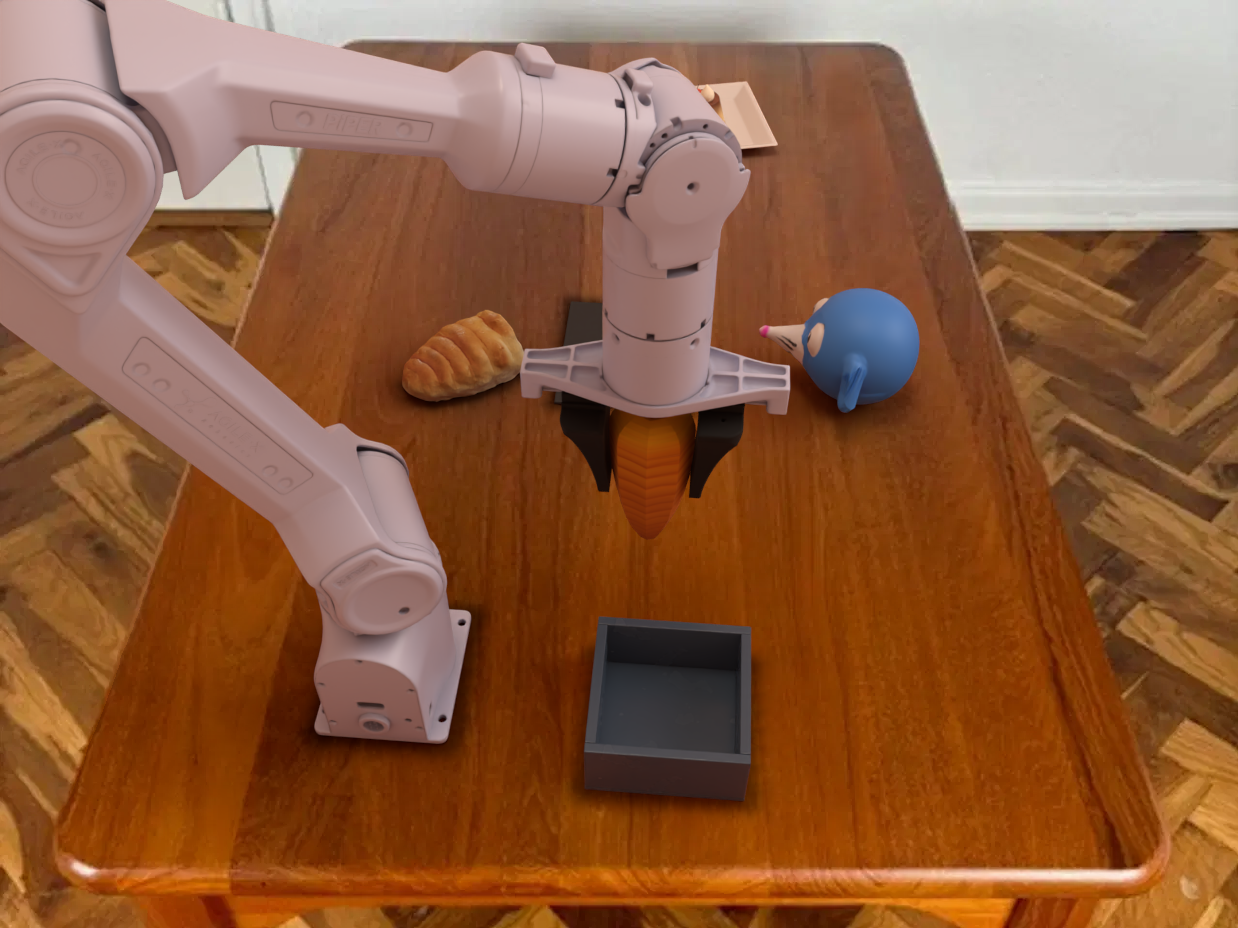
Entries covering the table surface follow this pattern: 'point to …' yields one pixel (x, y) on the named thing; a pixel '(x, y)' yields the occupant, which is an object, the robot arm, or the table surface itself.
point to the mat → (582, 327)
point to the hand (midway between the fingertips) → (650, 482)
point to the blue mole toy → (854, 346)
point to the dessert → (739, 113)
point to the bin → (669, 709)
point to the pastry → (464, 359)
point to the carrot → (651, 466)
